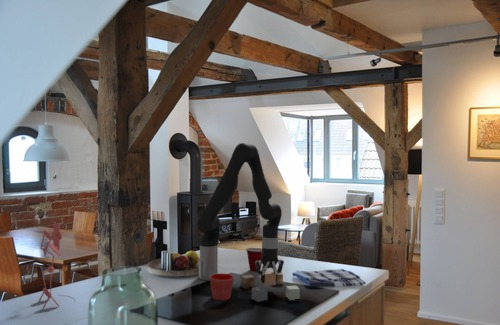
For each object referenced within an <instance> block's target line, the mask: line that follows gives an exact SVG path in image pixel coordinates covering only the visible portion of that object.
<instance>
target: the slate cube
mask: <svg viewBox="0 0 500 325" xmlns="http://www.w3.org/2000/svg"><path fill="white" fill-rule="evenodd" d="M251 300H254V301H255V302H257V303H260V302H263V301H264V300H265V301H268V288H266V287H263V286H261V285H259V286H255V287H252V288H251Z"/></svg>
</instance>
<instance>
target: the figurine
mask: <svg viewBox="0 0 500 325" xmlns="http://www.w3.org/2000/svg"><path fill="white" fill-rule="evenodd" d="M53 222H54V223H53V226H52V228H53V229H52V231H53V232H51V234H50V233H49V232H48V231H47V230H45V229H44V231H43V235H42V240H41V244H40V247H39V249H40V250H42V251H43V256H44V257H46V256H47V253H48V254H50V255H51V256H52V261H51V266H48V267H47V269H46V270H47V271H45V272H43V273H42V280H43V284H44V287H43V288H42V291H43V292H42V294H41V295H40V298H39V300H38V303H41V300H42V298H43V297H44V295H45V296H46V298H47V299H46V301H45V303H44V305H43V306H42V308H43V309H45V308H46V305H47V303H48V302H49V300H51V299H52V301H53V302H54V303H55V304H56V305H57V307H60V305H59V304H58V302H57V301H56V299H55V298H54V297H53V296H52V275H53V273H54V271H55V268H54V265H53V264H54V259H55V255H54V253H55V254H56V255H58V256H60V257H61V256H62V254H61V252H60V245H61V244H60V243H61V242H60V241H61V240H62V238H63V235H62V233H61V231H60V230H61V227H60V226H61V225H60V222H58V223H57V221H53ZM45 238H47V240H48V241H47V242H46V245H45V247H43V243H44V241H45V240H44V239H45ZM51 241H53V242H51ZM48 248H50V250H52V251H53V252H54V253H52V252H51V251H48ZM46 273H50V277H49V284H50V285H49V287H50V288H49V290H50V291H49V290H48V289H47V287H46V286H47V285H46V281H45V280H46V279H45V276H44V274H46ZM58 296H61V297H64V295H61V294H58ZM67 297H68V298H71V299H74V300H75V297H74V298H73V297H71V296H69V295H67ZM48 312H49V311H47V313H48Z"/></svg>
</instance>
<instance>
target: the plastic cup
mask: <svg viewBox="0 0 500 325" xmlns="http://www.w3.org/2000/svg"><path fill="white" fill-rule="evenodd" d="M245 251H246V254H247V261H248V267H249V271H251V272H257V269H256V264H255V261H259V260H261V258H262V247H246V248H245ZM259 266H260V270H262V266H263V264H262V263H260V265H259Z"/></svg>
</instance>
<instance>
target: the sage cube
mask: <svg viewBox="0 0 500 325" xmlns="http://www.w3.org/2000/svg"><path fill="white" fill-rule="evenodd" d="M300 290H301V289H300V288H299V287H298V285H286V286H285V298H286V297H287V298H288V299H289V300H288V299H287V298H286V299H287V300H288V301H296V300H295V299H300V297H301V295H300V292H301V291H300Z"/></svg>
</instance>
